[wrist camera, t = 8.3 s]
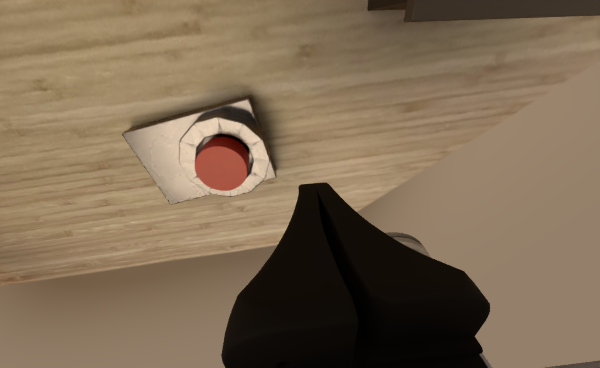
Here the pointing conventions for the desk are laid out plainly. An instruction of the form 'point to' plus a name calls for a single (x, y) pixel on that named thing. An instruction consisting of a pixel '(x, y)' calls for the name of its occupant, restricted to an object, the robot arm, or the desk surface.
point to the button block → (200, 147)
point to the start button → (222, 164)
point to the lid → (496, 9)
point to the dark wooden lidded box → (386, 5)
